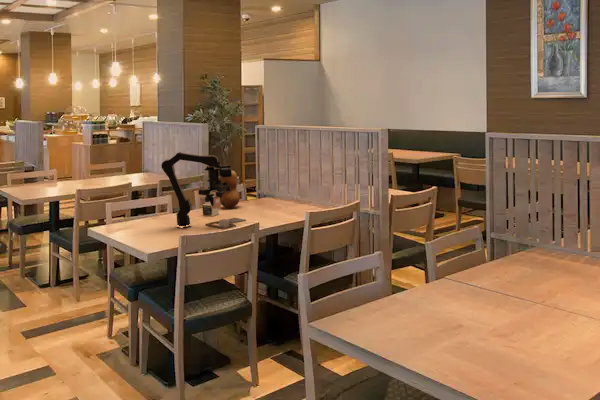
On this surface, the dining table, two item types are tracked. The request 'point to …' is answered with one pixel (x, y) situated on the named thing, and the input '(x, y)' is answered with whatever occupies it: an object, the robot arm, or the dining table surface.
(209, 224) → the caddy
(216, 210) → the medicine bottle
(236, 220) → the slate pad
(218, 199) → the terracotta block
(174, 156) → the robot arm
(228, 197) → the butternut squash
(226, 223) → the grey block
